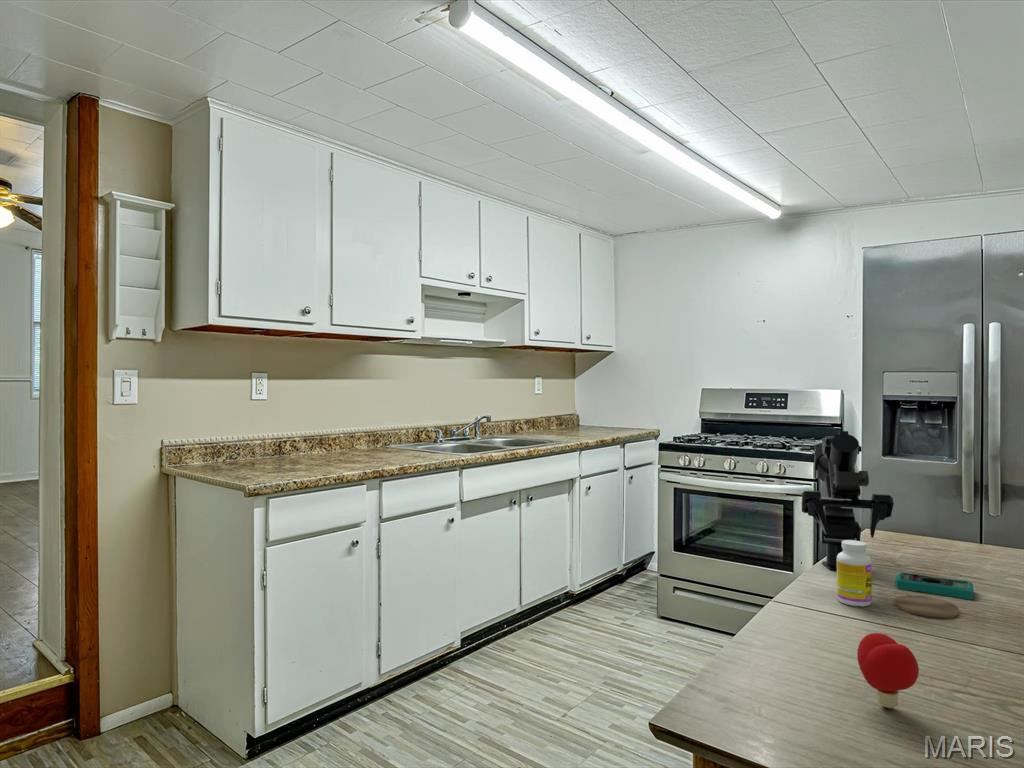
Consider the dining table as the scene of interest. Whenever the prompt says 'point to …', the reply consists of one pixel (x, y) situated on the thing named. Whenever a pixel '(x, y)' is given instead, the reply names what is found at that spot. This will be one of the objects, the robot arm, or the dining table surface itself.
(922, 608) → the coaster
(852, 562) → the supplement bottle
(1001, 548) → the dining table surface
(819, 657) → the dining table surface
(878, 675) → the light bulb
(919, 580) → the digital multimeter
